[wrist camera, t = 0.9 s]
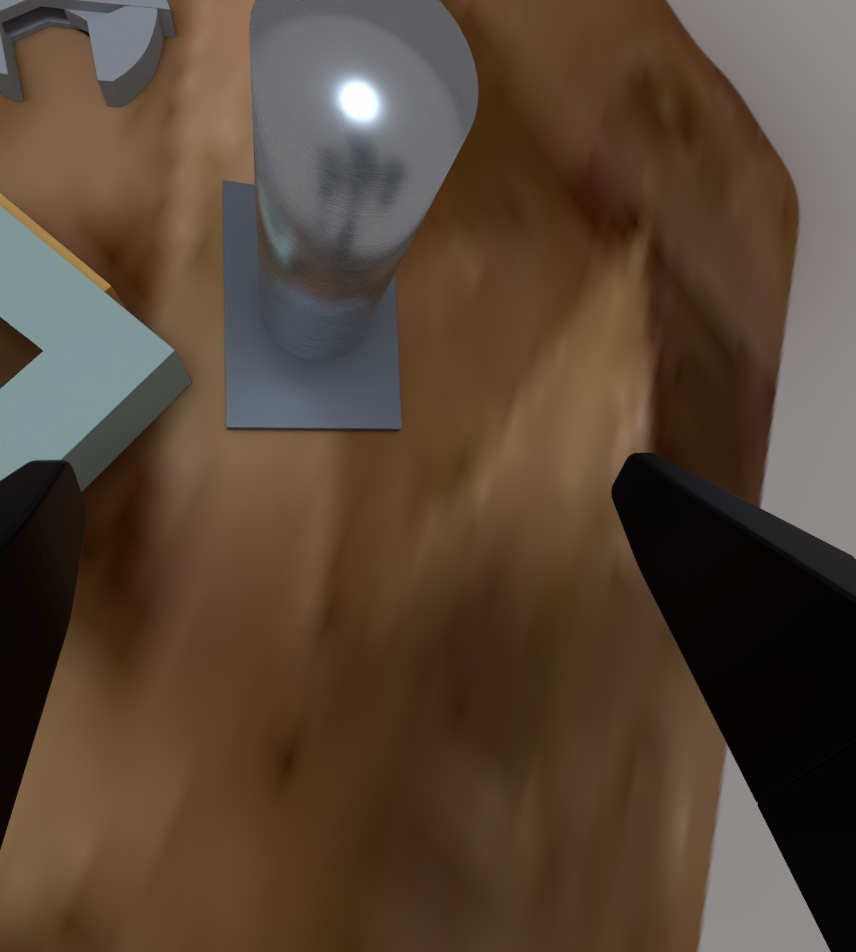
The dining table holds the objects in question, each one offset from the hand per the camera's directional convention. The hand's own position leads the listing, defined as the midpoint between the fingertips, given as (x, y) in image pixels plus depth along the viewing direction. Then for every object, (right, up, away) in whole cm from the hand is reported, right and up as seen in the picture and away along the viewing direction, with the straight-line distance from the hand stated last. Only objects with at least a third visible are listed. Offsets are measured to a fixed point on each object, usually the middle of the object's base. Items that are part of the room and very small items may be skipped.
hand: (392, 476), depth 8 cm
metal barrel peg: (-4, +7, +13) cm, 15 cm away
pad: (-4, +7, +13) cm, 16 cm away
